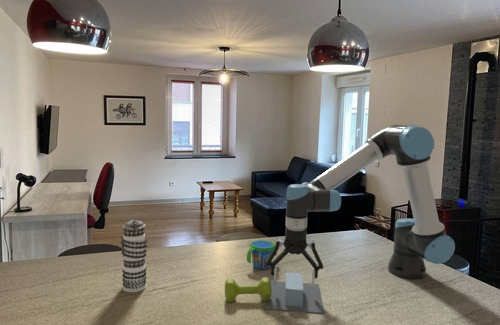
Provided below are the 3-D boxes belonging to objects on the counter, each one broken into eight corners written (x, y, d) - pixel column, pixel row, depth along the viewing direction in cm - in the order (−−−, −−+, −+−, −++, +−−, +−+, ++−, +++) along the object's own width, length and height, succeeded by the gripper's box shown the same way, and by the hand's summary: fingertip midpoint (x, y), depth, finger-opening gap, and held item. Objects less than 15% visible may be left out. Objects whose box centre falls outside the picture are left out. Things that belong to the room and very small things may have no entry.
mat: (318, 285, 149) (318, 284, 149) (324, 313, 127) (324, 312, 127) (267, 281, 150) (267, 280, 150) (264, 309, 129) (264, 308, 129)
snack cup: (269, 259, 174) (269, 237, 173) (283, 267, 165) (284, 244, 164) (240, 266, 166) (240, 243, 164) (253, 274, 157) (254, 250, 156)
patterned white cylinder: (120, 283, 145) (120, 219, 142) (146, 280, 149) (145, 217, 146) (122, 294, 137) (121, 226, 134) (148, 290, 140) (148, 224, 137)
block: (285, 288, 130) (285, 272, 144) (284, 305, 131) (285, 287, 145) (303, 290, 130) (301, 273, 143) (302, 306, 130) (301, 288, 144)
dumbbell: (269, 293, 139) (270, 274, 139) (272, 303, 132) (272, 283, 131) (224, 294, 138) (224, 275, 138) (224, 305, 131) (224, 285, 130)
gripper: (260, 229, 133) (258, 287, 135) (333, 233, 131) (329, 292, 133) (261, 223, 140) (259, 278, 143) (330, 226, 138) (327, 283, 141)
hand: (293, 285), depth 138 cm, fingers open, 13 cm apart
